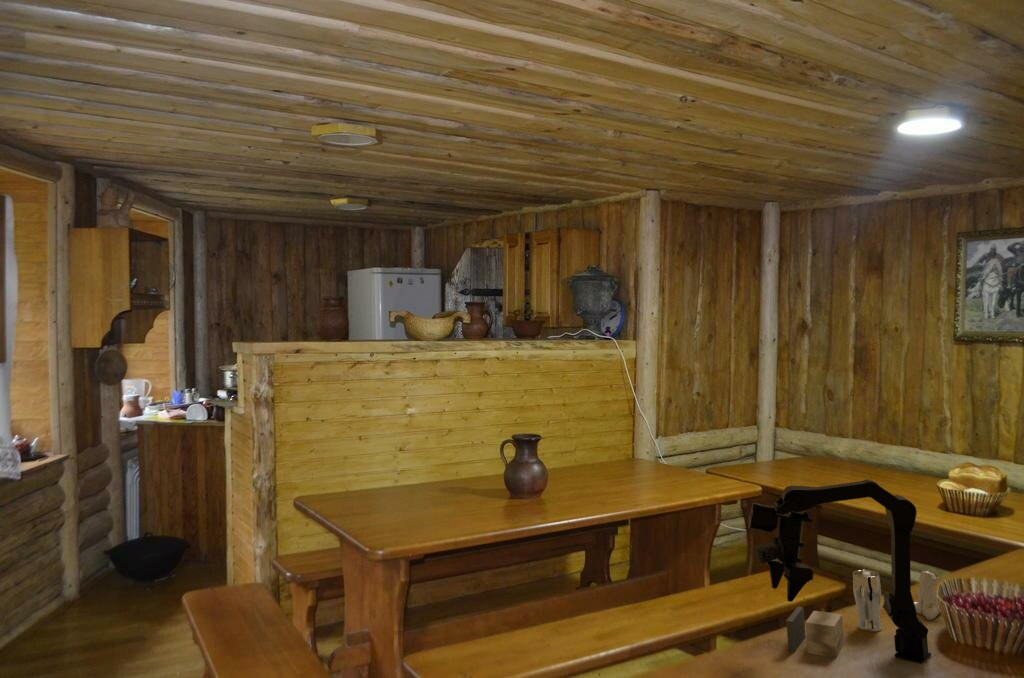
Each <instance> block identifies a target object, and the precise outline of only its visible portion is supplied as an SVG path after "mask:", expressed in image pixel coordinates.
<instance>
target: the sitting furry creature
mask: <svg viewBox="0 0 1024 678" xmlns="http://www.w3.org/2000/svg"><path fill="white" fill-rule="evenodd" d="M919 575H920V576H919V577H918V579H919V582H918V583H919V585H920V586H919V588H918V590H917V592H916V594H917V597H918V600H917V601H914V604H915V608H916V613H917V614H919V615H922V616H925V618H926V619H927V620H930V621H931V620H935V619H936V617H937V616H938V615H939V614H940V613H941V611H940V608H939V604H938V602H937V597H938V592H937V591H936V589H935V588H934V587H935V586H936V584H938V583H939V582H940V579H941V578H940V577H937V576H936V575H935V574H934V573H933V572H930V571H928V570H927V571H926V570H923V571H922V572H921V573H920V574H919ZM936 595H937V597H936Z"/></svg>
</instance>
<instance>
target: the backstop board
mask: <svg viewBox="0 0 1024 678" xmlns="http://www.w3.org/2000/svg"><path fill="white" fill-rule="evenodd" d="M804 610H805V609H804V607H803V606H796V608H795V610H793V612H792V613H791V614H790V616H789V617H788V618H787V619H786V621H785V622H786V623H785V624H786V634H787V635H786V636H787V648H788V649H787V650H788V653H793V654H794V653H796V651H797V650H798V648H799V647H800V646H801V644H802V643H803V641H804V640H805V638H807V636H806V621H805V611H804Z"/></svg>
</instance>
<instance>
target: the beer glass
mask: <svg viewBox="0 0 1024 678" xmlns="http://www.w3.org/2000/svg"><path fill="white" fill-rule="evenodd" d="M852 590H853V595H854V600H855V603H856V608H857V612H858V618H857V619H858V620H857V621H858V622H857V628H858V629H859V630H862V631H864V632H870V633H872V632H874V633H875V632H876V633H877V632H880V631H882V630H883V626H882V623H881V617H880V610H881V602H882V587H881V580H880V573H879V572H877V571H874V570H868V569H858V570H854V571H853V572H852Z"/></svg>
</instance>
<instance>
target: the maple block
mask: <svg viewBox="0 0 1024 678" xmlns="http://www.w3.org/2000/svg"><path fill="white" fill-rule="evenodd" d="M805 634H806V646H807V647H806V648H807V654H810V655H812V654H813V655H816V656H822V657H830V658H836V659H837V658H838V657H839V655H840V653H841V651H842V650H843V647H844V646H845V640H844V639H845V638H844V625H843V615H842V613H835V612H827V611H821V610H820V611H819V610H813V611H812V612H811V614H810V615H809V617H808V618H807V620H806V621H805Z"/></svg>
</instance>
